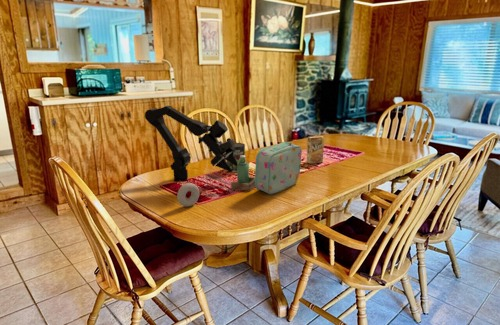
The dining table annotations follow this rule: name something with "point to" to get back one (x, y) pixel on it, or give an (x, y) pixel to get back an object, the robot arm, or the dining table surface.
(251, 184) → the rest
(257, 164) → the lunch box
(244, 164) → the bottle
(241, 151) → the coffee can
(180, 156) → the robot arm
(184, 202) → the donut
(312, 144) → the candy box
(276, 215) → the dining table surface
